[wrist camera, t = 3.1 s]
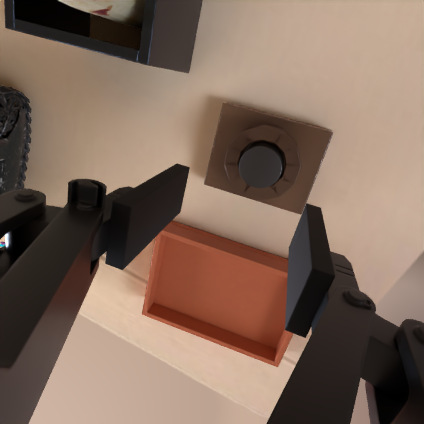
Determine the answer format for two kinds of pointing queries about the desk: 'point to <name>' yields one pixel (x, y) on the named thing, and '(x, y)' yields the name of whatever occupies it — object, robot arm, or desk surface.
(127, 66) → the desk surface
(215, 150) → the block
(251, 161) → the button
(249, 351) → the tray
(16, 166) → the toy tank
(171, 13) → the black open box
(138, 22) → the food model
